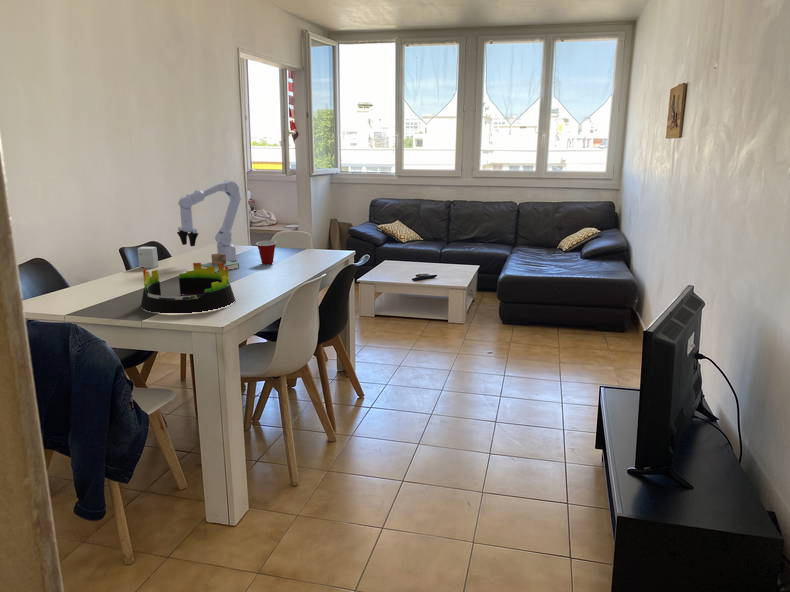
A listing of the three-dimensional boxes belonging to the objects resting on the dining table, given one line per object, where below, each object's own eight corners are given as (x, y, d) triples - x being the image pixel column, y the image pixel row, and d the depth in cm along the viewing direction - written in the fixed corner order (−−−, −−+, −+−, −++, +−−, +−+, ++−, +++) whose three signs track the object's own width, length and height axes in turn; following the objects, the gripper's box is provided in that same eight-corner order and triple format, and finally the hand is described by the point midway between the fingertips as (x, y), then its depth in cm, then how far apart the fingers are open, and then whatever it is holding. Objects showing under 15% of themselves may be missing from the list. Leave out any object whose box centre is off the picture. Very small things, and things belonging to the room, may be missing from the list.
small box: (158, 266, 326) (157, 246, 323) (153, 268, 321) (151, 248, 318) (144, 266, 327) (142, 246, 324) (138, 268, 321) (137, 248, 319)
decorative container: (123, 315, 234) (119, 276, 231) (163, 292, 270) (161, 259, 266) (218, 317, 232) (216, 278, 229) (246, 294, 268) (244, 260, 264)
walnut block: (220, 262, 323) (219, 253, 322) (226, 263, 320) (225, 254, 319) (212, 263, 319) (211, 254, 318) (217, 265, 316) (217, 255, 315)
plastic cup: (252, 264, 331) (251, 242, 329) (264, 261, 341) (263, 240, 338) (270, 266, 327) (269, 244, 325) (281, 263, 337) (280, 241, 334)
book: (225, 265, 330) (224, 260, 329) (239, 268, 323) (239, 263, 322) (199, 270, 318) (199, 264, 317) (213, 273, 311) (213, 267, 310)
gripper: (172, 219, 327) (174, 244, 330) (187, 221, 318) (189, 247, 321) (183, 218, 332) (185, 243, 335) (199, 220, 323) (201, 246, 327)
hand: (188, 245), depth 329 cm, fingers open, 7 cm apart
